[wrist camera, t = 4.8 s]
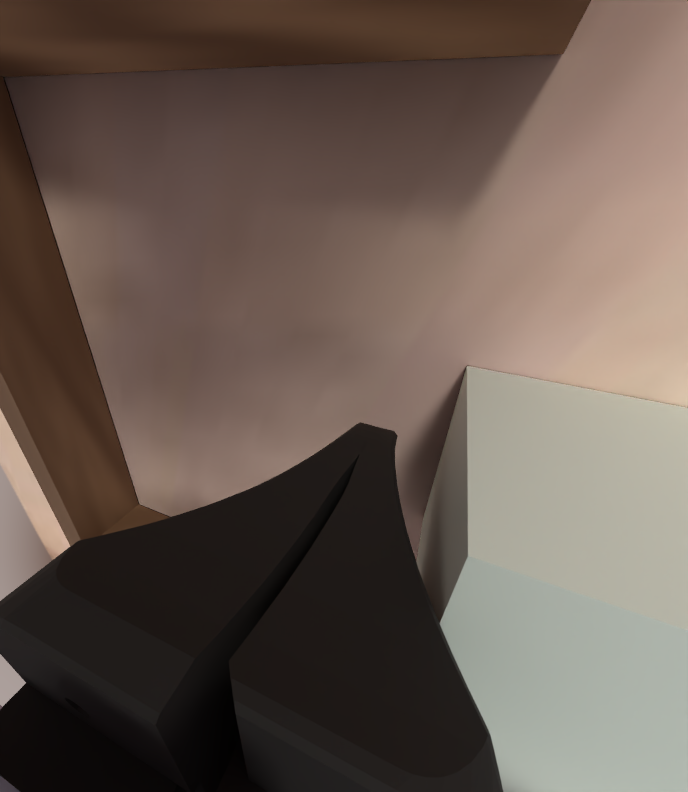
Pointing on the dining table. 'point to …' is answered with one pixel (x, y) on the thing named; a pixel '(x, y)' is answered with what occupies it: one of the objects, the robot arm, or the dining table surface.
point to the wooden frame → (153, 51)
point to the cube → (566, 580)
